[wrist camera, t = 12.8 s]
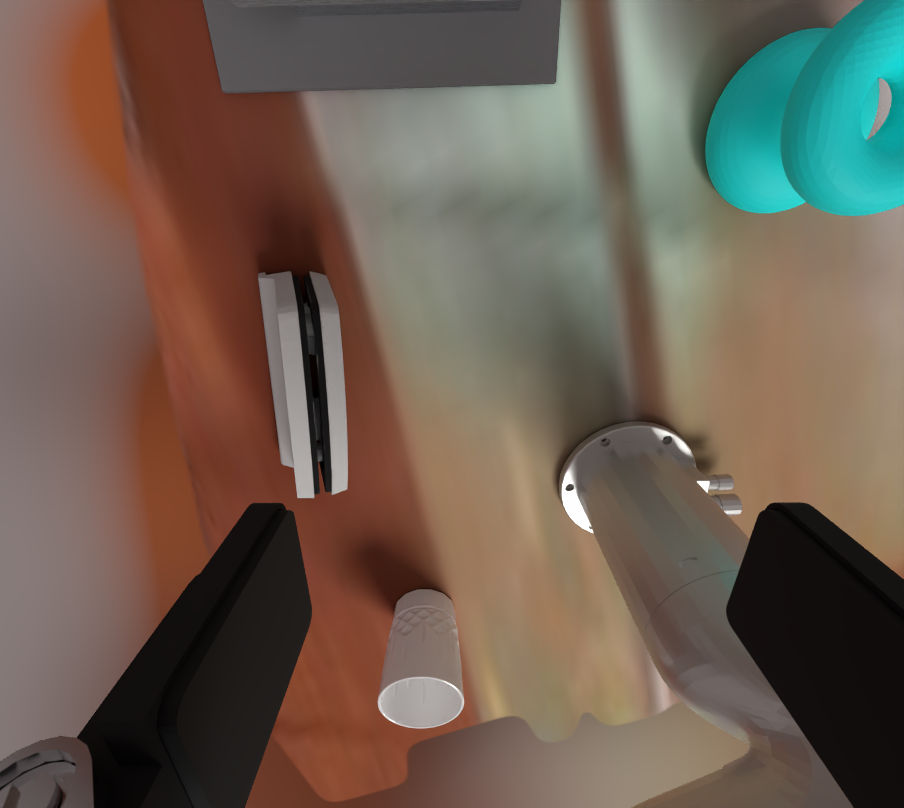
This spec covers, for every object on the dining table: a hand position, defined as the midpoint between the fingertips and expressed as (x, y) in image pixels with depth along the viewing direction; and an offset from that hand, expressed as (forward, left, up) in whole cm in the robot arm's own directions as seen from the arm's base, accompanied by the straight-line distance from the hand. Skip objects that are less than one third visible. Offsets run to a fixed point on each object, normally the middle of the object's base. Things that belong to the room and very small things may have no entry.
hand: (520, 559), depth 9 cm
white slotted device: (+12, +6, -27) cm, 30 cm away
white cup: (+5, +35, -27) cm, 44 cm away
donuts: (-21, -10, -27) cm, 36 cm away
